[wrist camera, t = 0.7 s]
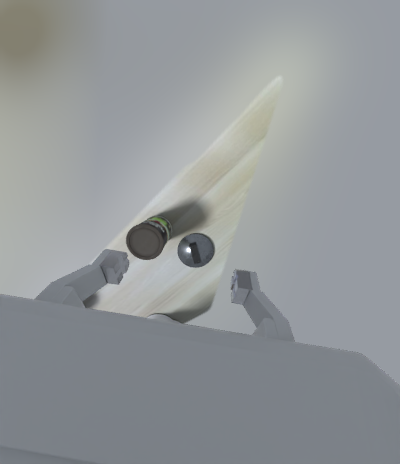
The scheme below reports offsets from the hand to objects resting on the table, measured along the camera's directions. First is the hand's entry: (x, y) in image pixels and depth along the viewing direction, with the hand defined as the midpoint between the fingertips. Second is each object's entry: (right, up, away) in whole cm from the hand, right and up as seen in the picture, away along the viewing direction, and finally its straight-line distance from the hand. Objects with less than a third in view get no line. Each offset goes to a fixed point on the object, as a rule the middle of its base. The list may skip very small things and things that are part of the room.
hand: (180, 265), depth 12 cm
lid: (0, -4, +48) cm, 48 cm away
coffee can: (-14, +3, +46) cm, 48 cm away
